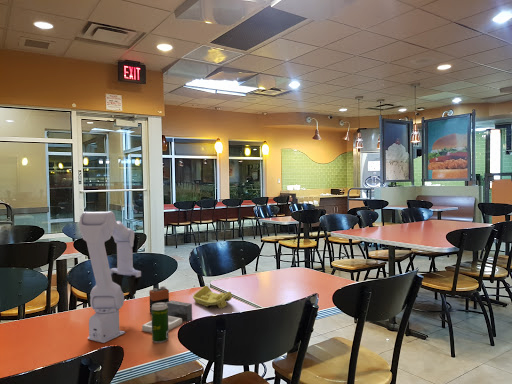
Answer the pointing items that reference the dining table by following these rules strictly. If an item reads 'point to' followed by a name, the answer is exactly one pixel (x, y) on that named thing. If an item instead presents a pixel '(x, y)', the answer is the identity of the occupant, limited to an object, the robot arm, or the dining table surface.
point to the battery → (158, 296)
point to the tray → (172, 324)
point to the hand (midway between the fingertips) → (125, 293)
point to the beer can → (160, 322)
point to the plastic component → (211, 297)
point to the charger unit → (180, 310)
